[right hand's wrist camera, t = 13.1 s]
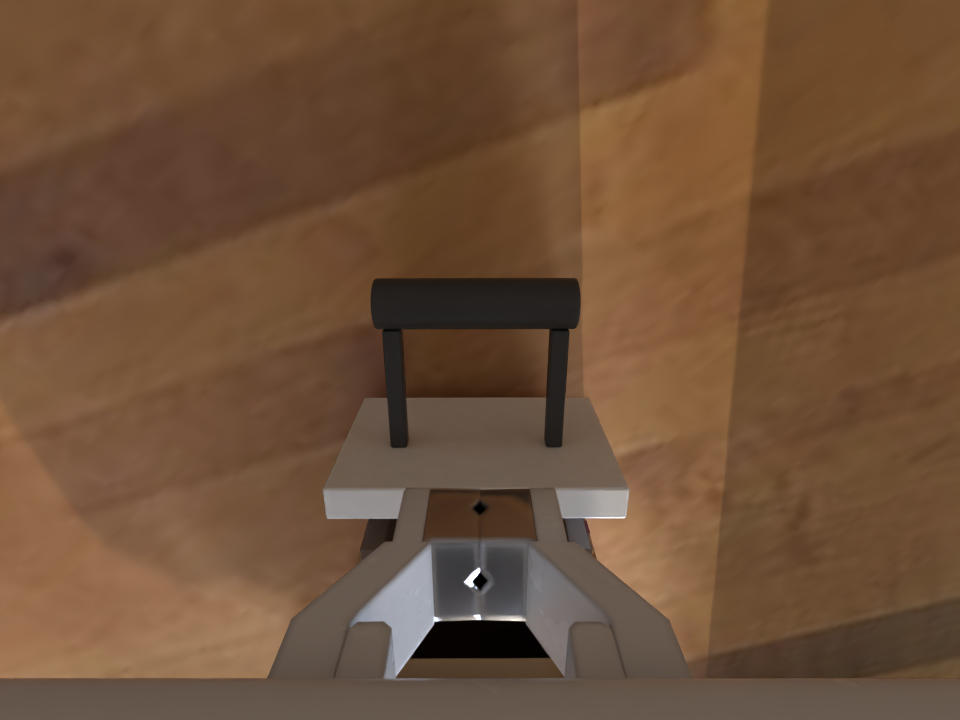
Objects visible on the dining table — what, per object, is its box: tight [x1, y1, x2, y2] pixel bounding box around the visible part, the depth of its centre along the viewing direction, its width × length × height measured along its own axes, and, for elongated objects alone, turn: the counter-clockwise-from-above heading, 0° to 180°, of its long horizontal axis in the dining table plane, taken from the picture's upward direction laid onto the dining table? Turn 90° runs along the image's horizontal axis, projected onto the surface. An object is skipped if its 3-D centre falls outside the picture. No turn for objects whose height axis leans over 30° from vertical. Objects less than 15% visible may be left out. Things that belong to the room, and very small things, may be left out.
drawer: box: [323, 278, 629, 658], centre depth 22 cm, size 22×10×7 cm, turn 0°
